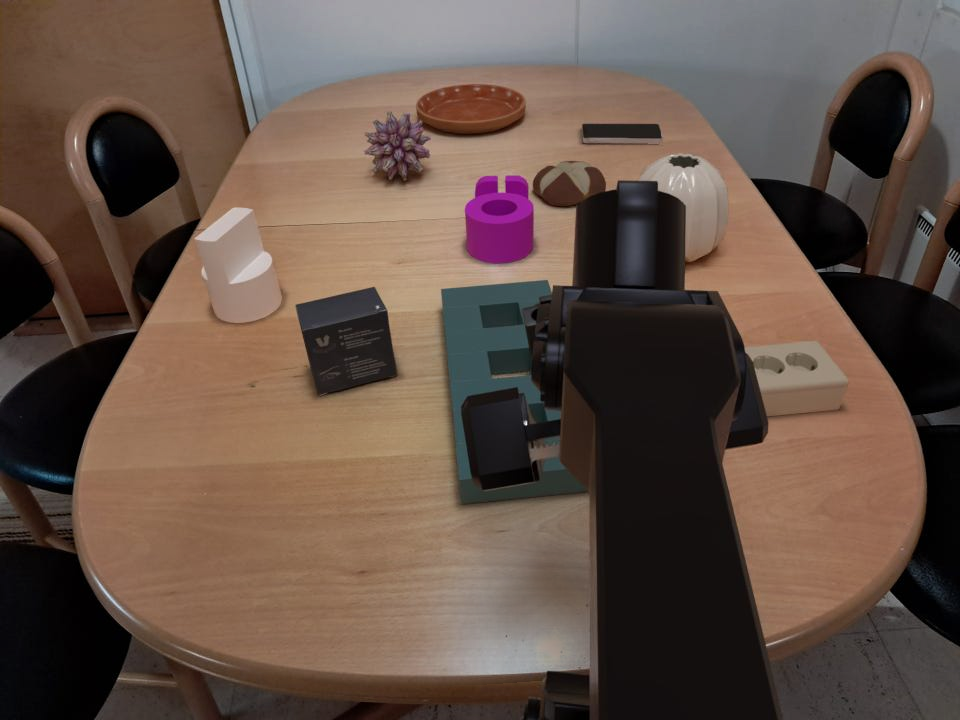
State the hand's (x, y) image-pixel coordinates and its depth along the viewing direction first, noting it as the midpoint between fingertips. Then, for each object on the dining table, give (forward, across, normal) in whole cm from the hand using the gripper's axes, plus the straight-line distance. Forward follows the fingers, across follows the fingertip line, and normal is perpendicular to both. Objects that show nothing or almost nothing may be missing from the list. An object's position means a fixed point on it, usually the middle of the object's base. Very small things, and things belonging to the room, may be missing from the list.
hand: (601, 432), depth 53 cm
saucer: (+79, +8, -76) cm, 110 cm away
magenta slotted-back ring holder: (+46, +6, -36) cm, 59 cm away
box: (+24, +25, -14) cm, 38 cm away
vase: (+44, -18, -28) cm, 56 cm away
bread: (+56, -7, -45) cm, 72 cm away
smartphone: (+72, -21, -62) cm, 98 cm away
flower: (+60, +21, -56) cm, 85 cm away
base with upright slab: (+33, +41, -28) cm, 59 cm away
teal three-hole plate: (+24, +7, -9) cm, 26 cm away
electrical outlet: (+24, -18, -3) cm, 30 cm away
